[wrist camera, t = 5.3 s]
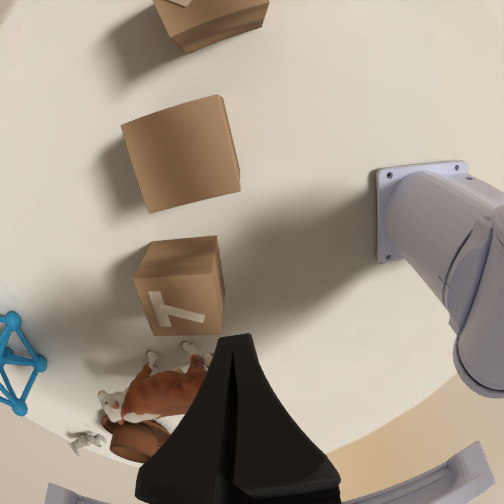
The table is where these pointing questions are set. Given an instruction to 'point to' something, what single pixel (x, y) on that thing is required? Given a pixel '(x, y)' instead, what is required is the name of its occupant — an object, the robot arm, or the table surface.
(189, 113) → the plain cube
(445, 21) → the table surface
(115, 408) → the bull figurine
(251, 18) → the cube one
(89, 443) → the soldier figure
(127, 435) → the cup and saucer
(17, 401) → the molecular structure
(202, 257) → the cube seven
